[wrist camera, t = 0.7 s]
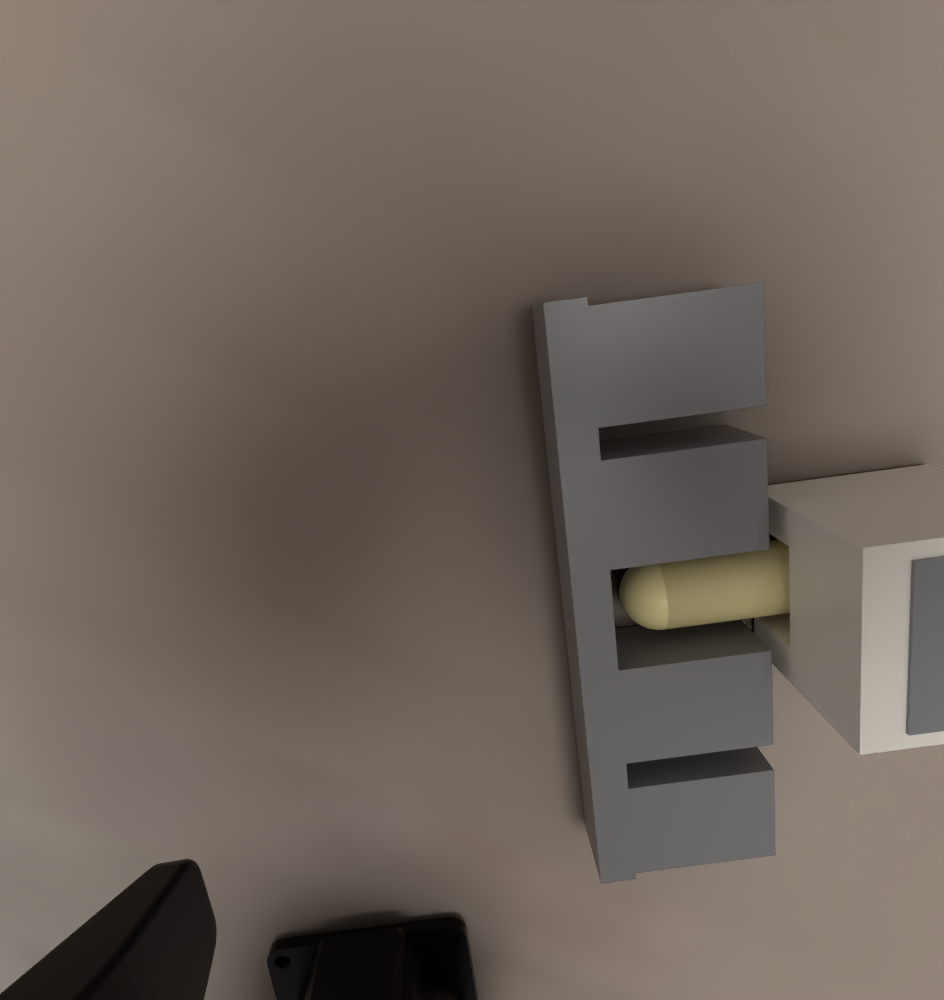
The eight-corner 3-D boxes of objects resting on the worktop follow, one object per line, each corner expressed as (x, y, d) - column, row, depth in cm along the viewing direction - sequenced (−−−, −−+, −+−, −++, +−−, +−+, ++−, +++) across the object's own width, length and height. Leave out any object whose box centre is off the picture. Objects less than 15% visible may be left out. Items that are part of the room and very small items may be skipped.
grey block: (754, 644, 20) (862, 757, 15) (750, 487, 19) (866, 549, 13) (923, 622, 20) (1091, 727, 15) (930, 463, 19) (1115, 516, 13)
